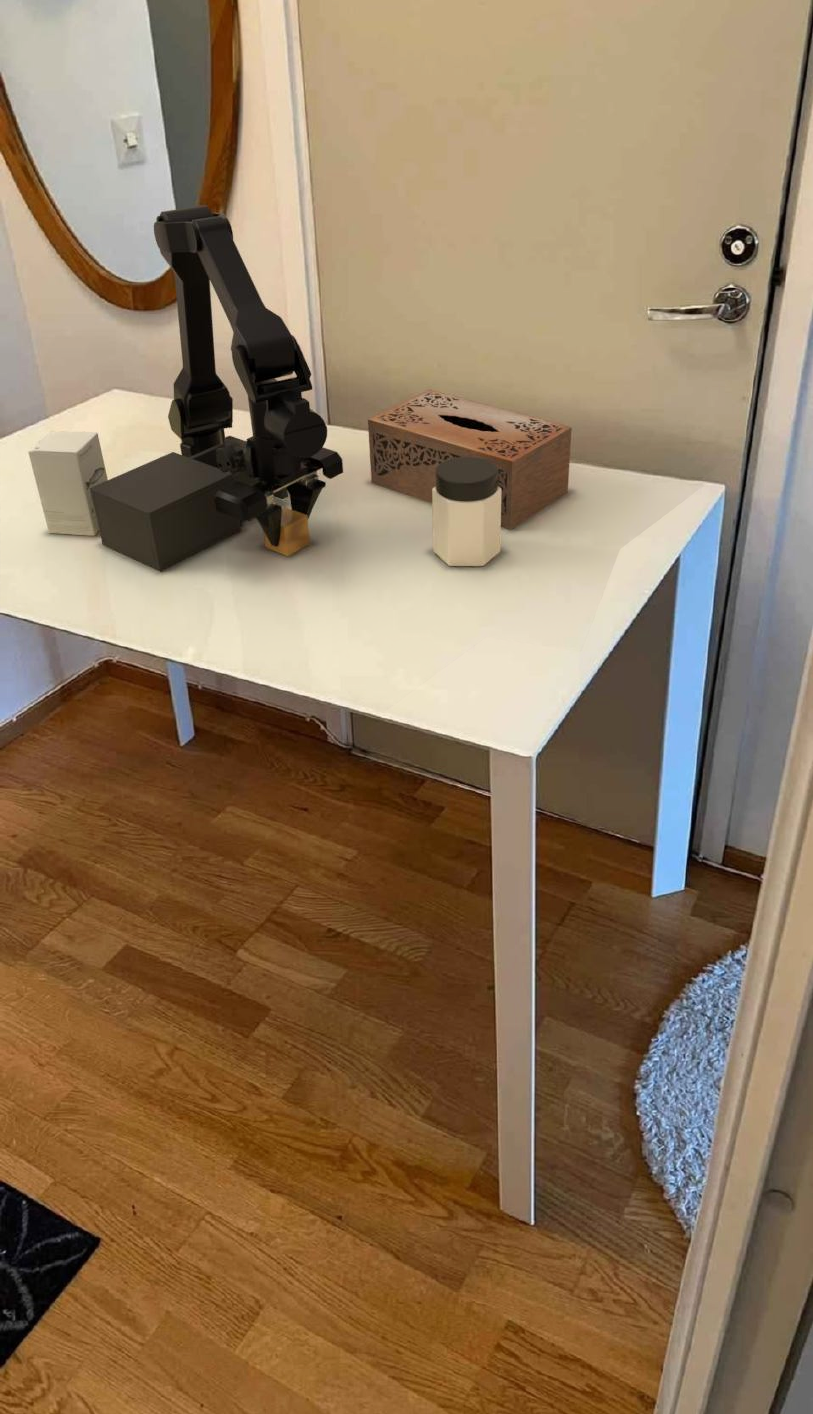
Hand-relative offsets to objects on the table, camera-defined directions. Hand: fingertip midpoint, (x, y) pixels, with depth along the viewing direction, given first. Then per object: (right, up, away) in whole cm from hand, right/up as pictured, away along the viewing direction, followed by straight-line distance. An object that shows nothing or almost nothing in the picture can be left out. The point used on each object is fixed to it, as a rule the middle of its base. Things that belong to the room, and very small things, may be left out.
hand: (287, 539), depth 146 cm
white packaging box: (-30, +3, +8) cm, 32 cm away
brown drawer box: (-17, +1, +4) cm, 17 cm away
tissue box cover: (+26, +10, +13) cm, 30 cm away
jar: (+24, -2, -3) cm, 25 cm away
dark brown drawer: (-8, +8, +11) cm, 16 cm away
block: (0, -1, +1) cm, 1 cm away
